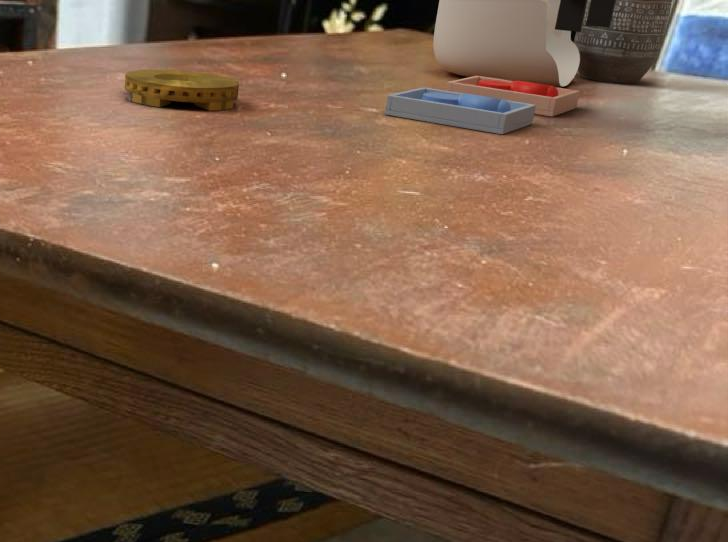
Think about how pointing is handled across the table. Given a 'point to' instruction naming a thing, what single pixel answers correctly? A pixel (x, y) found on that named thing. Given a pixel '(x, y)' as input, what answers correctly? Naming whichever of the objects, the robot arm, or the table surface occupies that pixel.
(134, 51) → the table surface
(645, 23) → the planter
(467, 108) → the blue tray
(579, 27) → the robot arm
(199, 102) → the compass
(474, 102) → the blue spoon
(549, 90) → the red spoon
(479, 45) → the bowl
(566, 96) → the rose tray
